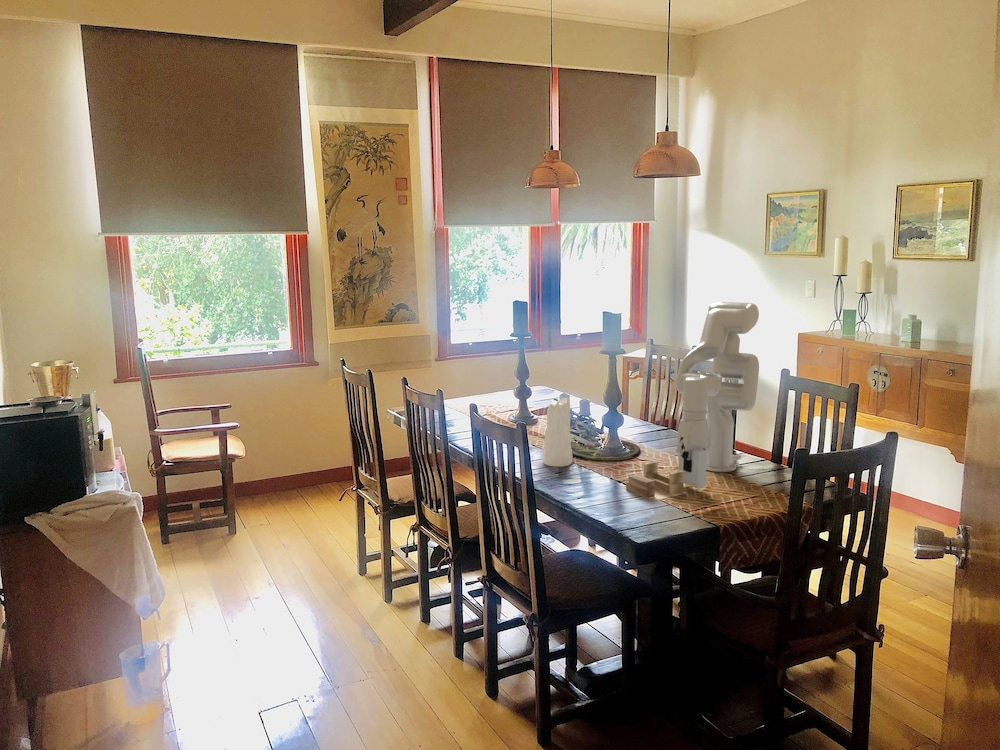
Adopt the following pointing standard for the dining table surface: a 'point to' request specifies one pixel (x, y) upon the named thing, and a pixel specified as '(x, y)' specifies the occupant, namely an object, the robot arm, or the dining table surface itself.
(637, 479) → the offcut top
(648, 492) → the block
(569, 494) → the dining table surface
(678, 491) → the rack
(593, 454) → the decorative plate
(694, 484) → the white rectangular block
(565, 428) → the white pillar candle
